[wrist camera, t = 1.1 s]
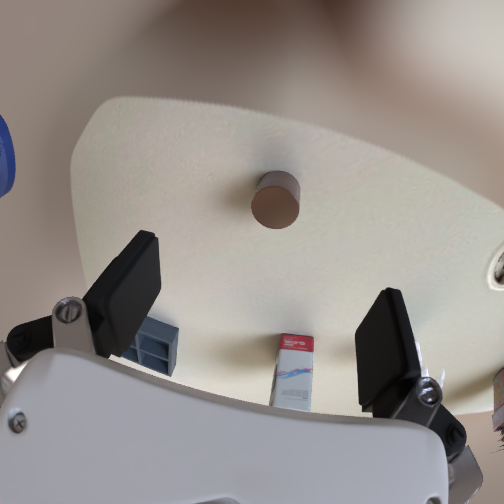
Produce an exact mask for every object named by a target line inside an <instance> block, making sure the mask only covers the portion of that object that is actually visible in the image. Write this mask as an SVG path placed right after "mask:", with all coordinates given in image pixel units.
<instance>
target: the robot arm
mask: <svg viewBox="0 0 504 504" xmlns="http://www.w3.org/2000/svg"><path fill="white" fill-rule="evenodd" d="M160 290H161V275H160V260H159V243H158V238H157V237H155V234H154V233H152V232H148V231H144V230H140V231H139V232H138V233H137V234H136V235H135V237H134V238H133V239H132V240H131V241H130V242H129V244H128V245H127V246H126V247H125V248H124V249H123V251H122V252H121V253H120V254H119V255H118V256H117V257H115V258H114V259H113V260H112V262H111V263H110V264H109V265H108V266H107V268H106V269H105V270H104V271H103V273H102V274H101V275H100V276H99V278H98V279H97V280H96V282H95V283H94V284H93V285H92V287H91V288H90V289H89V291H88V292H87V293H86V295H85V296H84V297H83V299H80V298H78V297H67V298H64V299H62V300H61V301H59V302H58V303H57V304H56V305H55V306H54V308H53V311H52V315H50V316H47V317H43V318H40V319H37V320H34V321H30V322H27V323H24V324H20V325H18V326H16V327H14V328H13V329H12V330H11V331H10V333H9V334H8V337H7V342H5V343H4V342H3V341H1V342H0V504H467V503H468V501H470V499H471V498H472V497H473V496H474V495H475V494H476V493H477V491H478V490H479V489H480V487H481V486H482V482H483V475H482V472H481V470H480V467H479V466H478V464H477V461H476V459H475V457H474V455H473V453H472V451H471V449H470V448H469V446H465V443H466V438H467V436H466V431H465V428H464V427H463V425H462V424H461V423H460V422H459V421H458V420H457V419H456V418H455V417H454V416H453V415H452V414H451V413H450V412H449V411H448V410H447V409H446V408H445V407H444V406H443V405H442V404H441V401H442V390H441V387H440V385H439V384H438V383H437V382H436V380H434V379H433V378H431V377H422V375H421V372H422V371H421V366H420V362H419V357H418V353H417V348H416V344H415V340H414V336H413V332H412V328H411V324H410V321H409V317H408V314H407V310H406V307H405V303H404V300H403V297H402V293H401V291H400V290H398V289H393V288H389V287H388V288H386V289H385V290H382V291H381V292H380V294H379V295H378V297H377V299H376V300H375V302H374V304H373V305H372V307H371V308H370V310H369V312H368V313H367V315H366V316H365V318H364V319H363V321H362V322H361V324H360V325H359V327H358V328H357V330H356V333H355V346H356V359H357V374H358V396H359V404H360V405H362V412H372V413H373V418H368V417H354V416H341V415H330V414H320V413H312V412H304V411H297V410H290V409H284V408H278V407H272V406H266V405H261V404H256V403H251V402H247V401H242V400H237V399H233V398H229V397H225V396H220V395H217V394H212V393H209V392H205V391H201V390H198V389H194V388H191V387H187V386H184V385H181V384H177V383H174V382H171V381H168V380H165V379H162V378H159V377H156V376H153V375H150V374H147V373H145V372H142V371H138V370H136V369H133V368H131V367H128V366H125V365H122V364H120V363H117V362H115V361H112V360H110V359H108V358H109V357H110V355H111V354H112V355H115V356H117V357H121V355H122V353H123V352H127V351H128V349H129V347H130V345H131V343H132V341H133V340H134V338H135V336H136V334H137V332H138V330H139V328H140V327H141V325H142V323H143V321H144V319H145V317H146V316H147V314H148V312H149V310H150V308H151V307H152V305H153V303H154V301H155V300H156V298H157V296H158V294H159V292H160Z"/></svg>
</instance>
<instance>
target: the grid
mask: <svg viewBox="0 0 504 504" xmlns="http://www.w3.org/2000/svg"><path fill="white" fill-rule="evenodd" d="M178 332H179V329H178V328H176V327H173V326H170V325H167V324H165V323H162V322H159V321H157V320H154V319H152V318H149V317H145V319H144V321H143V323H142V325H141V327H140V328H139V330H138V332H137V334H136V336H135V338H134V340H133V341H132V343H131V345H130V347H129V349H128V351H127V352H123V353H122V355H121V357H123V358H126V359H128V360H130V361H132V362H135V363H137V364H139V365H142V366H144V367H147V368H149V369H152V370H154V371H157V372H159V373H162V374H165V375H167V376H170V377H171V375H172V373H173V370H174V368H175V365H176V355H177V343H178Z"/></svg>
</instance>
